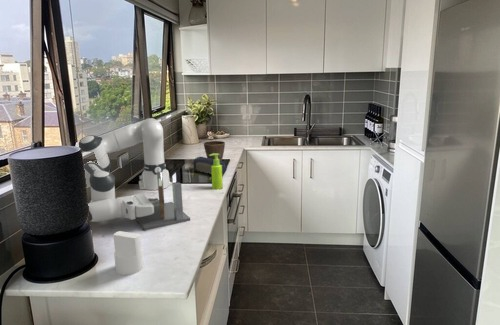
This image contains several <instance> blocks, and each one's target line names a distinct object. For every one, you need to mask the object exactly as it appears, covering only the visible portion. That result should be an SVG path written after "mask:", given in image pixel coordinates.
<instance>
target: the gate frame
mask: <svg viewBox="0 0 500 325" xmlns="http://www.w3.org/2000/svg"><path fill="white" fill-rule="evenodd" d="M160 178H161V181H162V189H163V203H164V216H165V218H162V219H161V214H160V204H159V205H155V206H154V213H153V214H151V215H148V216H143V217H136V219H135V220H136V221H137V222H138V223H139V225H140V226H141V227H142V229H143V231H149V230H154V229H157V228H162V227H167V226H172V225H176V224H181V223H185V222H189V221H191V217H190V216H188V214H186V212H184V206H183V192H182V190H183V189H182V184H181V183H180V182H179V181H178V182H174V183H173V182H172V184H171V186H172V200H173V201H170V202H169V201H168V202H165V196H164V195H165V194H164V188H163V177H162V172H161V171H159V172H157V180H158V186H159V179H160ZM157 192H158V194H159V188H158V191H157Z"/></svg>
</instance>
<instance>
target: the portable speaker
mask: <svg viewBox="0 0 500 325" xmlns="http://www.w3.org/2000/svg"><path fill="white" fill-rule="evenodd" d="M213 160H214V159H211V158H207V157H205V156H197V157H195V158H194V161H193V165H192V166H193V168H194V169H195V171H197V172H199V171H200V172H199V173H203V172H204V173H205V174H208V173H209V175H212V170H211V166H212V165H214V164H213ZM219 162H220V165H222V176H223V175H224V174H226V172H227V170H228V169H227V168H228V167H227V163H226V162H224V161H223V160H222V161H221V160H219Z"/></svg>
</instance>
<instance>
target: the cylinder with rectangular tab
mask: <svg viewBox="0 0 500 325" xmlns="http://www.w3.org/2000/svg"><path fill="white" fill-rule="evenodd" d="M112 236H113V243H114V253H113V256H114V257H113V258H114V265H115V272H116V273H117V274H118V275H122V276H130V275H134V274H136V273H139V272H141V271H142V270H144V267H145V259H144V250H143V247H142V246H143V245H142V235H141V234H140V233H133V232H127V231H123V230H122V231H121V230H119V231H116V232H115V233H114V234H113V235H112Z"/></svg>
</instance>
